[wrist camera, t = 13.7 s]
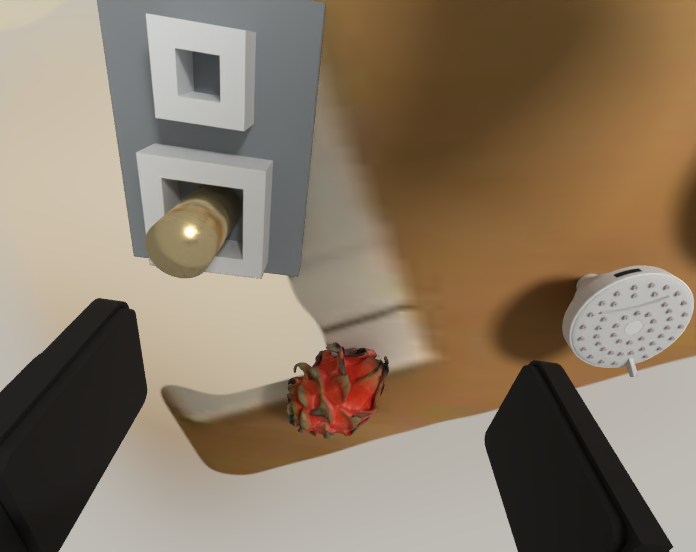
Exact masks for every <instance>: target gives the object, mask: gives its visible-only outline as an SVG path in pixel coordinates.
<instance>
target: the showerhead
mask: <svg viewBox="0 0 696 552" xmlns="http://www.w3.org/2000/svg"><path fill="white" fill-rule="evenodd" d="M576 288H577V291H576V293H575V295H574V299H573V300H572V302H571V303H570V305H569V306H568V308H567V310H566V312H565V315H564V318H563V324H562V331H563V336H564V338H565V340H566V342H567V344H568V345H569V347H570V348H571V350H572V351H573V353H574V354H575V355H576V356H577V357H578V358H579V359H580V360H582V361H584V362H585V363H588V364H590V365H593V366H598V367H606V368H615V367H623V366H627V369H628V372H629V375H630V377H635V376H637V370H636V366H635V364H636V363H639V362H642V361H644V360H646V359H649V358H651V357H653V356H655V355H656V354H658V353H660V352H661V351H663V350H664V349H666V348H667V347H668V346H670V345H671V344H672V343H673V342H674V341H675V340H676V339H677V338H678V337H679V336H680V335H681V334H682V333H683V331H684V330H685V329H686V327H687V325H688V323H689V322H690V319H691V317H692V314H693V309H694V299H693V295H692V292H691V290H690V289H689V287H688V286H687V285H686V284H685V283H684V282H683V281H682V280H680V279H679V278H677V277H675V276H674V275H672V274H671V273H669V272H667V271H665V270H663V269H661V268H658V267H653V266H631V267H625V268H622V269H618V270H615V271H612V272H610V273H603V274H599V275H596V274H587V275H585V276H583V277H581V278H580V279H579V280H578V282H577V285H576Z"/></svg>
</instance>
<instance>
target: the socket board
mask: <svg viewBox="0 0 696 552" xmlns="http://www.w3.org/2000/svg"><path fill="white" fill-rule="evenodd" d="M97 4H98V11H99V18H100V25H101V32H102V39H103V45H104V52H105V59H106V66H107V73H108V80H109V87H110V94H111V101H112V108H113V115H114V122H115V128H116V135H117V142H118V149H119V156H120V163H121V169H122V176H123V183H124V191H125V198H126V205H127V211H128V218H129V225H130V232H131V238H132V246H133V253H134V256H136V257H144V258H149V256H148V254H147V252H146V248H145V237H146V234H147V232H148V230H149V229H150V228H151V227H152V226H153V225H154V224H155V223H156V222H157V221H158V220H160V219H161V218H162V217H163V216H164V215H165V214H166V213H168V212H169V211H170V210H171V209H172V208H173V207H174V206H176V205H177V204H178V203H179V202H180V201H181V200H182V199H184V198H185V197H186V196H187V195H188V194H189V193H190V192H192V191H193V190H194V189H195V188H196V187H197V186H199V185H200V184H208V185H215V186H222V187H229V188H231V189H232V190H233V191H234V192H235V193H236V194H237V195H238V197H239V199H240V202H241V206H242V213H241V217H240V219H239V221H238V222H237V224H236V225H235V227H234V228H233V230H232V231H231V233H230V234H229V236H228V237H227V239H226V240H225V242H224V244H223V245H222V247H221V248H220V250H219V251H218V253H217V254H216V256H215V257H214V259H213V260H212V262H211V263H210V265H209V266H208V268H207V269H206V270H205V271H204V272H211V273H220V274H227V275H235V276H243V277H244V276H245V277H252V278H260V279H262V276H263V273H273V274H280V275H281V274H282V275H288V276H296V277H298V276H299V271H300V263H301V253H302V243H303V233H304V223H305V213H306V203H307V192H308V182H309V172H310V162H311V152H312V142H313V132H314V122H315V111H316V101H317V91H318V81H319V71H320V61H321V51H322V40H323V30H324V20H325V10H326V4H325V3H323V2H318V1H312V0H97ZM149 263H150V265H154V263H153V262H152V261H151V260H150V258H149ZM154 266H155V265H154Z"/></svg>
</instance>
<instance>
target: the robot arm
mask: <svg viewBox="0 0 696 552" xmlns="http://www.w3.org/2000/svg"><path fill="white" fill-rule="evenodd" d="M146 395H147V384H146V378H145V371H144V365H143V358H142V352H141V346H140V339H139V332H138V326H137V319H136V313H135V311H134V310H132V309H129V307H128V305H127V303H126V302H122V301H115V300H108V299H101V298H98V299H95V300H94V301H93V302H92V303H91V304H90V305H89V306H88V307H87V308H86V309H85V310H84V311H83V312H82V313H81V314H80V315H79V316H78V317H77V318H76V319H75V320H74V321H73V322H72V323H71V324H70V325H69V326H68V327H67V328H66V329H65V330H64V331H63V332H62V333H61V334H60V335H59V336H58V337H57V338H56V339H55V340H54V341H53V342H52V343H51V344H50V345H49V346H48V347H47V348H46V349H45V350H44V351H43V352H42V353H41V354H39V355H38V356H37V357H35V358H34V359H33V360H32V361H31V362H30V363H29V364H28V365H27V366H26V367H25V368H24V369H23V370H22V371H21V372H20V373H19V374H18V375H17V376H16V377H15V378H14V379H13V380H12V381H11V382H10V383H9V384H8V385H7V386H6V387H5V388H4V389H3V390H2V391H1V392H0V552H58V551H59V550H60V548H61V547H62V545H63V543H64V541H65V540H66V538H67V536H68V535H69V533H70V531H71V529H72V528H73V526H74V524H75V522H76V521H77V519H78V517H79V515H80V514H81V512H82V510H83V508H84V506H85V505H86V503H87V502H88V500H89V498H90V496H91V494H92V493H93V491H94V489H95V488H96V486H97V484H98V482H99V481H100V479H101V477H102V475H103V474H104V472H105V470H106V468H107V467H108V465H109V463H110V461H111V460H112V458H113V456H114V455H115V453H116V451H117V449H118V448H119V446H120V444H121V442H122V440H123V439H124V437H125V435H126V434H127V432H128V430H129V428H130V427H131V425H132V423H133V422H134V419H135V418H136V416H137V414H138V413H139V411H140V409H141V408H142V406H143V404H144V402H145V399H146ZM485 447H486V450H487V454H488V457H489V460H490V463H491V466H492V470H493V473H494V476H495V479H496V482H497V486H498V489H499V492H500V495H501V498H502V502H503V505H504V508H505V511H506V514H507V518H508V521H509V524H510V527H511V531H512V534H513V537H514V540H515V543H516V546H517V550H518V552H669V550H670V549H671V548H673V546H672V544H671V543H670V541H669V539H668V538H667V536H666V534H665V533H664V532H663V530H662V528H661V526H660V525H659V523H658V522H657V520H656V518H655V517H654V515H653V514H652V512H651V510H650V508H649V507H648V505H647V504H646V502H645V500H644V499H643V497H642V496H641V494H640V492H639V491H638V489H637V487H636V486H635V484H634V483H633V481H632V479H631V478H630V476H629V474H628V473H627V471H626V470H625V468H624V466H623V465H622V463H621V462H620V460H619V458H618V457H617V455H616V453H615V452H614V450H613V449H612V447H611V445H610V444H609V442H608V440H607V439H606V437H605V436H604V434H603V432H602V431H601V429H600V427H599V426H598V424H597V423H596V421H595V420H594V418H593V416H592V415H591V413H590V411H589V410H588V408H587V406H586V405H585V403H584V402H583V400H582V398H581V397H580V395H579V394H578V392H577V390H576V389H575V387H574V385H573V384H572V382H571V380H570V379H569V377H568V376H567V374H566V372H565V371H564V369H563V368H562V367H561V365H559V364H557V363H551V362H544V361H532V362H530V364H529V365H525V366H523V368H522V369H521V371H520V373H519V374H518V376H517V378H516V380H515V381H514V383H513V385H512V387H511V389H510V390H509V392H508V394H507V396H506V397H505V399H504V401H503V403H502V404H501V406H500V408H499V410H498V412H497V413H496V415H495V417H494V419H493V421H492V422H491V424H490V426H489V428H488V430H487V431H486V434H485Z"/></svg>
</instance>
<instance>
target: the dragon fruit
mask: <svg viewBox="0 0 696 552" xmlns="http://www.w3.org/2000/svg"><path fill="white" fill-rule="evenodd" d="M326 348H327V349H329V350H324V351H320V352H319V354H318V355H317V356H316V362H315V364H314V365H313V367H311V366H309V365H308V364H307V363H298V364H296V365H295V367H294V373H295V372H296V368H297V366H299V367H300V369H301V370H303V372H304V377H294V378H291V379H290V380H289V383H288V385H289V384H290V383H291V385H289V386H288V390H289V392H290V393H289V394H287V397H288V401H289V404H288V405H287V406H286V409H287V422H289V421H290V424H292V425H293V426H295V427H297V426H299V425H300V428H299V430H298V431H299V432H301V433H308V432H310V433H311V434H312V435H313V436H318V435H319V434H322V435H323V436H324V438H327V439H332V438H333V436H334V434H333V433H342V434H344V435H345V436H350V435H352V434H353V433H354V432H355V431H356V430H357V429H358V428H359V427H360V426H361V425H362V424H363V423H364V422H366V421H367V420H368V419H369V417H370V416H372V415H373V414H374V413H375V412H377V411H378V408H379V405H380V396H381V394H382V392H381V391H383V389H384V379H385V378H386V376H387V374H388V372H389V367H388V364H389V362H388V359H387V357H386V356H385V357H384V360H385V363H383V362H384V361H383V362H382V361H381V360H377V359H375V357H376V356H377V355H376V353H375V351H373V350H369V349H365V348H363V349H362V348H359V349H355V350H353V351H351V352H354V351H357V352H356V353H354V354H359V353H364V352H366V354H364V355H363V356H358V357H345V351H344V348H343V347H341V346H340V345H339V344H338V343H336V342H335V343H333V344H331V345H329V346H327V347H326ZM331 351H332V352H336V353H337V354H338V355H337V356H336V357H335V358H334V357H332V356H331ZM378 357H379V356H378ZM384 366H385V367H384Z"/></svg>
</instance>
